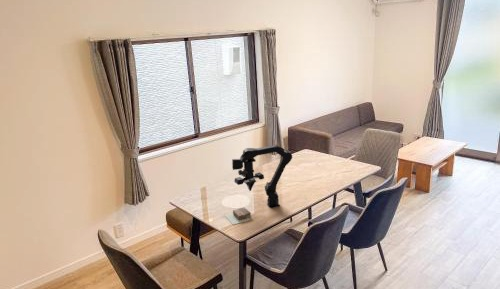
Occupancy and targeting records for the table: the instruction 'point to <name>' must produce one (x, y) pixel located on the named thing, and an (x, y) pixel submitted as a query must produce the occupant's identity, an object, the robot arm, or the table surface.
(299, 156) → the table surface
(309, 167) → the table surface
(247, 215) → the grey brown stone slab
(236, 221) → the mat
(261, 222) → the table surface
